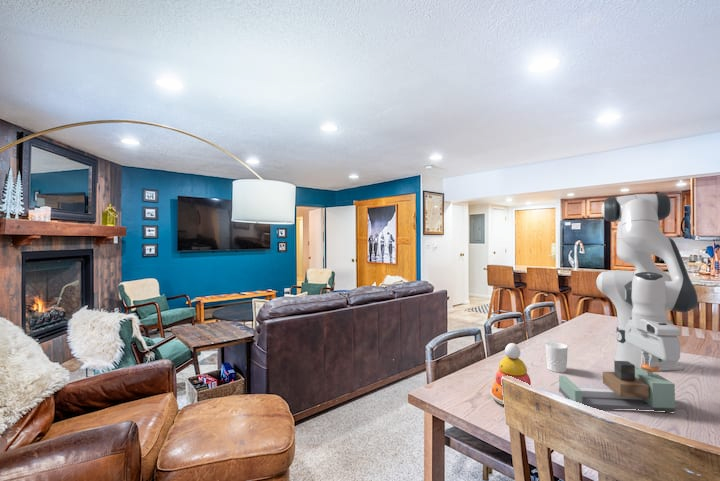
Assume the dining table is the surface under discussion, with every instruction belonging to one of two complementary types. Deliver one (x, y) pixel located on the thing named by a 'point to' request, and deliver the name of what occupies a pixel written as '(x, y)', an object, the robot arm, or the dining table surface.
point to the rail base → (608, 399)
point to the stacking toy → (509, 371)
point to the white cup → (556, 356)
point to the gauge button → (649, 369)
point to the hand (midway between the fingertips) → (649, 365)
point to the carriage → (625, 381)
